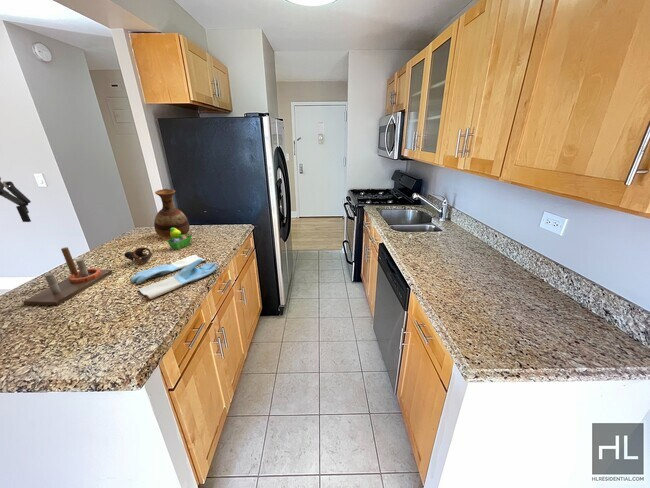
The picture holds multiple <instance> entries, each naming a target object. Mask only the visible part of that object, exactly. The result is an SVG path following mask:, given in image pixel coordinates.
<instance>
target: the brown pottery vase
mask: <svg viewBox="0 0 650 488" xmlns="http://www.w3.org/2000/svg"><path fill="white" fill-rule="evenodd" d="M175 193H176V190H175V189H174V188H162V189H158V190H155V192H154V194H155V195H157V196H158V197H159V198H160V200H161V203H162V208H161V209H160V210H158V212H157V213H156V214H155V217H154V221H153V226H154V227H153V228H154V231H155V233H156V234H157V236H159V237H163V238H172V237H171V235H170V229H171V228H176V229H177V230H179V231H180V232H181V235H187V234H188V232H189V231H190V222H189V219H188V217H187V215H185V213H184V212H183V211H182V210H180V209H179V208H177V207H175V206H174V201H173V200H174V199H173V197H174V194H175Z"/></svg>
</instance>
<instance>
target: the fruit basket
mask: <svg viewBox="0 0 650 488" xmlns="http://www.w3.org/2000/svg"><path fill="white" fill-rule="evenodd" d="M170 235H171V237H170V239H167V240H166V242H167V243H168V245H169V246H170V248H171V249H173V250H180V249H183V248H184V247H187V246H189V245H191V243H192V235H189V234H184V235H181V232H180V231H179V230H177V229H176V228H171V229H170Z"/></svg>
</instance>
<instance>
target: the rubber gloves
mask: <svg viewBox="0 0 650 488" xmlns="http://www.w3.org/2000/svg"><path fill="white" fill-rule="evenodd" d="M206 261H207V259H206V258H202V257H200V256H198V255H197V254H192V255H189V256H186V257H184V258H181V259H179V260H177V261H173V262H172V263H169V264H167V263H164V264H160V265H156V266H154V267H150V268H148V269H144V270H141V271H138V272H136V273H134V275H133V276H132V277H130V281H129V283H132V284H133V283H136V284H137V285H139V284H142V283H143V282H144V281H146V280H148V279H149V278H156V277H160V276H165V275H166V274H169V273H172V272H176V271H178V272H177V273H176V274H174V275H172V276H170V277H167V278H164V279H162V280H159V281H157V282H153V283H152V284H149V285H146V286H143V287H140V288H138V290H139V292H140V293H141V294H142V296H145V297H146V298H147V299H149V300H152V299H154V298H157V297H159V296H162V295H165V294H166V293H170V292H171V291H173V290H176V289H178V288H180V287H182V286H184V285H187V283H192V282H194V281H198V280H200V279H203V278H205V277H207V276H209V275H211V274H212V273H214V272H216V271H217V269H218V268H219V265H217V264H216V262H214V261H212V262H206ZM202 262H206V263H204V264H203V265H202V266H200V265H201V264H202ZM198 266H200V267H198Z"/></svg>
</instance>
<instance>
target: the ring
mask: <svg viewBox="0 0 650 488" xmlns="http://www.w3.org/2000/svg"><path fill="white" fill-rule="evenodd" d="M60 251H61V253H62V255H63V257H64V260H65V263H66V265H67V268H68V270H69V272H70V274H69V275H68V277H67V278H68V279H69V281H70V282H83V281H86V280H87V281H88V280H91V279H94V278H96V277H98V276H99V275H100V274H101V273H102V272H101V270H102V269H101V268H99V267H90V268H87V271H88V272H96V273H94V274H92V275H90V276H87V277H82V278H75V277H76V276H78V275H81V273H80V270H78V269H77V267H76V264H75V262H74V259H73V257H72V255H71V252H70V249H69V247H67V246H66V247H61V249H60Z"/></svg>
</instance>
